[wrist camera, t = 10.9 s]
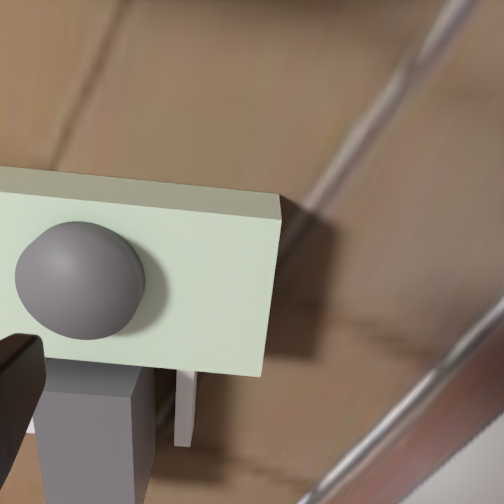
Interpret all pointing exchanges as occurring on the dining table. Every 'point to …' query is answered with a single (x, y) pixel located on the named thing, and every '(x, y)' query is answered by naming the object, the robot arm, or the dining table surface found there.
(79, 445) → the tall grey prism
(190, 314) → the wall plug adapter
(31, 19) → the dining table surface
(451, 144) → the dining table surface
